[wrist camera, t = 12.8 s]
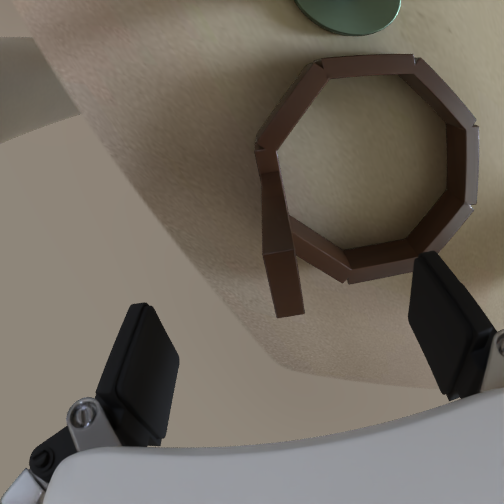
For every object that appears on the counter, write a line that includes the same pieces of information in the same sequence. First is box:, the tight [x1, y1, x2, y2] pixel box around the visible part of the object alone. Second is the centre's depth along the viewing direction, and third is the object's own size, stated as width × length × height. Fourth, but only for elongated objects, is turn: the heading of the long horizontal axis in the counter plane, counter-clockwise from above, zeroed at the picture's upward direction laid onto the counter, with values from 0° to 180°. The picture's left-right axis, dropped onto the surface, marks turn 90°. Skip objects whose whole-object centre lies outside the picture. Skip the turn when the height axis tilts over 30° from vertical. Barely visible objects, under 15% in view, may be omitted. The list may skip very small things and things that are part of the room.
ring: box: [254, 54, 479, 318], centre depth 17 cm, size 17×17×13 cm
